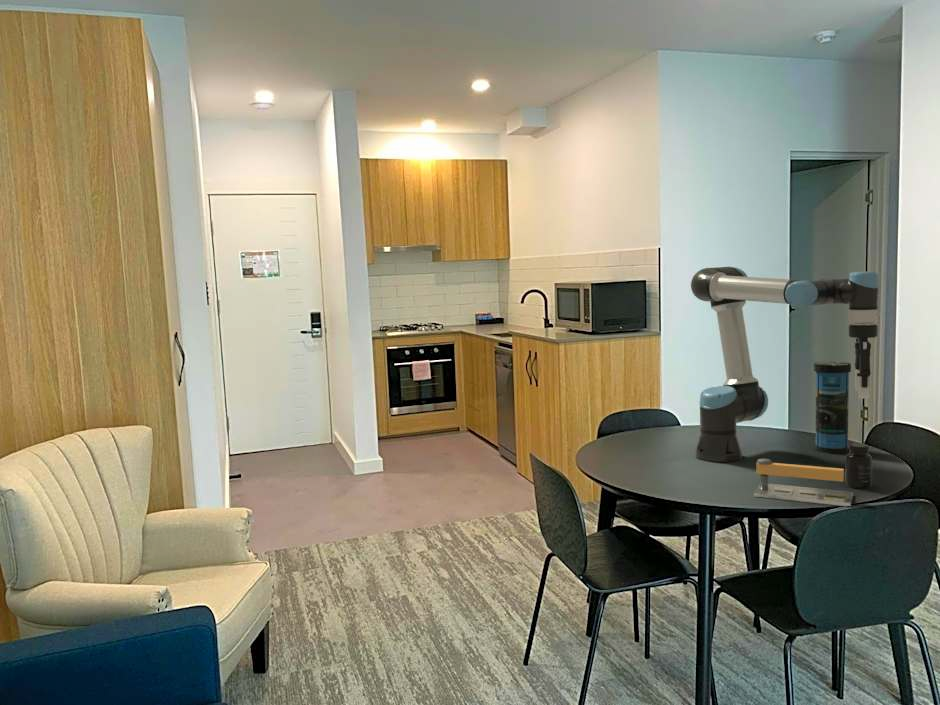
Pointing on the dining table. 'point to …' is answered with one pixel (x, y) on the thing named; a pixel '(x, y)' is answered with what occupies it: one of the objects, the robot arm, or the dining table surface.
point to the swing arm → (799, 471)
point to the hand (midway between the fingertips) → (862, 394)
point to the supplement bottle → (858, 467)
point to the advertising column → (832, 406)
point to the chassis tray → (802, 493)
